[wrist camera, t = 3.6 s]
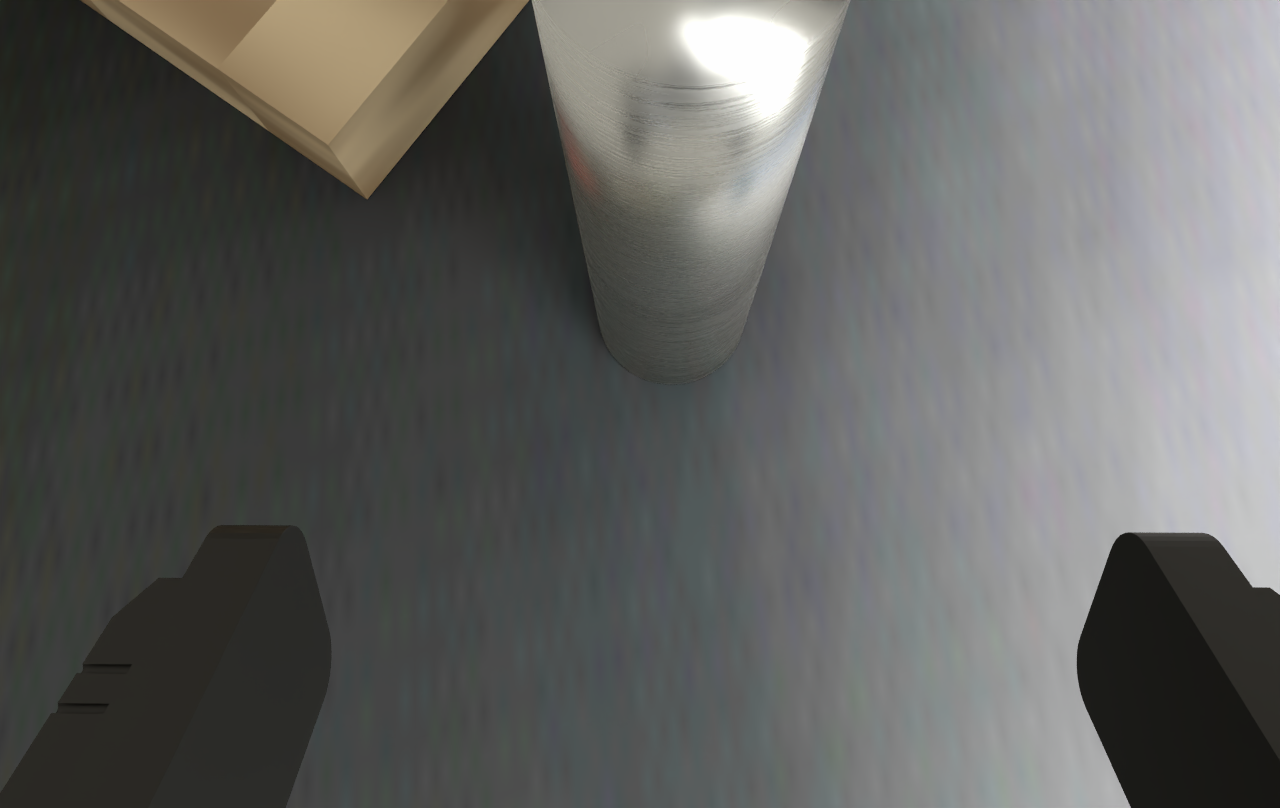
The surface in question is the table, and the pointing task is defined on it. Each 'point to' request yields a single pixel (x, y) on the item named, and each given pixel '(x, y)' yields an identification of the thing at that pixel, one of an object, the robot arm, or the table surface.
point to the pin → (681, 158)
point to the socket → (325, 66)
